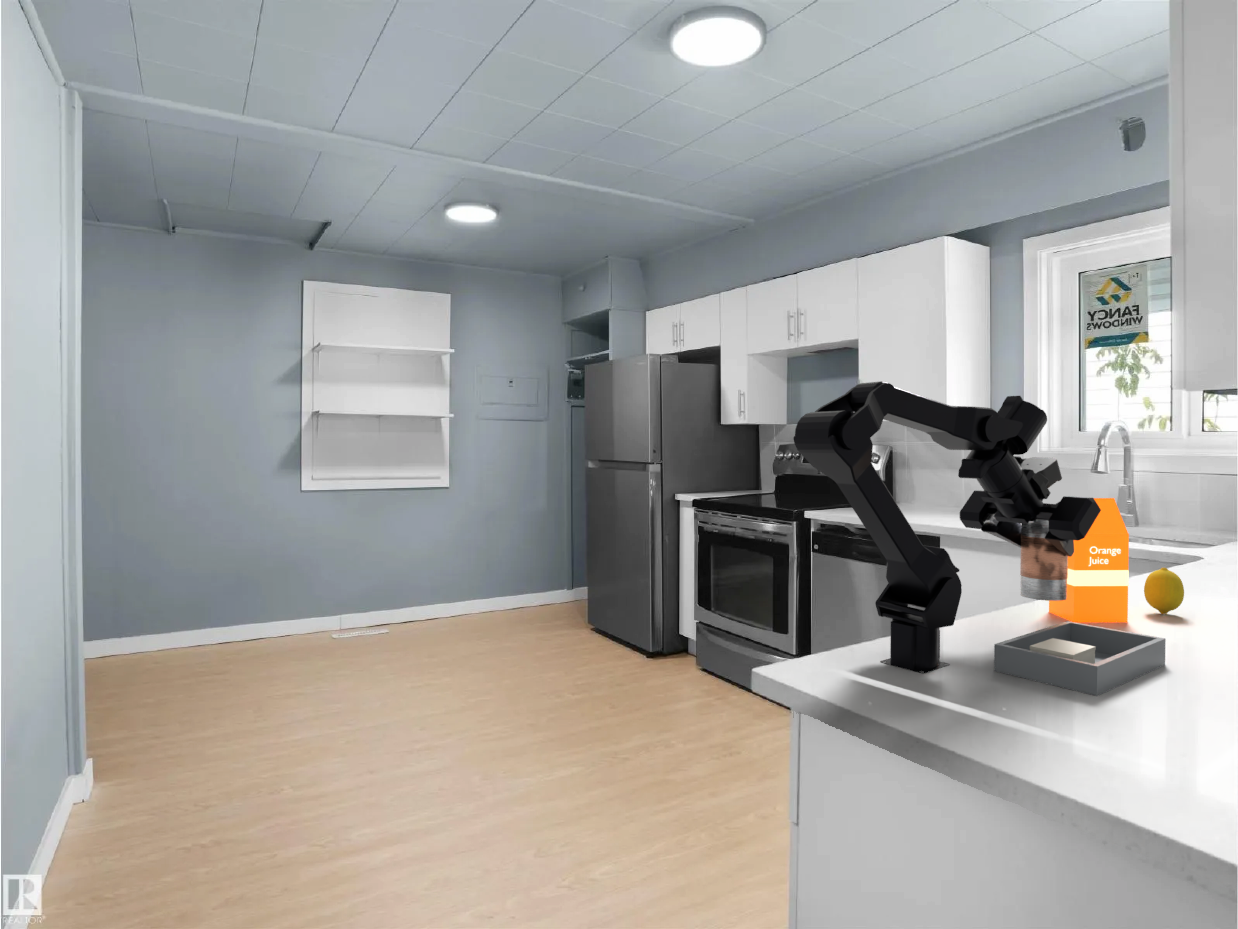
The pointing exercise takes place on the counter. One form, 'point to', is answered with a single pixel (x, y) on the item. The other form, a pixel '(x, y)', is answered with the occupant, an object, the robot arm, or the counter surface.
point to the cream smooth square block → (1066, 650)
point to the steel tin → (1042, 564)
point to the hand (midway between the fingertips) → (1050, 551)
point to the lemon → (1164, 590)
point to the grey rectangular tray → (1113, 666)
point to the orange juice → (1098, 571)
